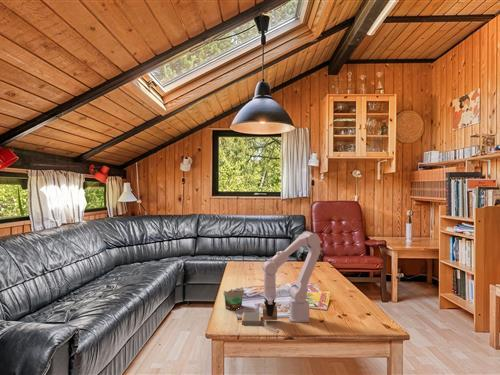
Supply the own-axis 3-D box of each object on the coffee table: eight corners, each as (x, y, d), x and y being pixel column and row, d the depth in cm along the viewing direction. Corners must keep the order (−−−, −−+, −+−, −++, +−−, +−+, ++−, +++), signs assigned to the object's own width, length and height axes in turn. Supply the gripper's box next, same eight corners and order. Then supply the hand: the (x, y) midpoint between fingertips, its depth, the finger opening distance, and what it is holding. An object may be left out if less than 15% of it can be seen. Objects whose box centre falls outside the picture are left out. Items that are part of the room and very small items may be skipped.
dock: (260, 316, 166) (260, 312, 166) (260, 325, 156) (260, 320, 156) (243, 316, 166) (243, 312, 166) (241, 324, 156) (241, 320, 156)
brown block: (276, 315, 162) (276, 305, 162) (277, 319, 157) (277, 309, 157) (262, 315, 162) (262, 305, 162) (262, 319, 158) (262, 309, 157)
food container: (229, 313, 170) (229, 294, 170) (223, 309, 175) (223, 290, 175) (248, 307, 178) (248, 289, 178) (242, 304, 183) (242, 286, 183)
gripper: (261, 281, 167) (261, 307, 167) (261, 290, 153) (261, 319, 153) (275, 281, 167) (275, 307, 167) (276, 291, 152) (276, 319, 152)
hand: (269, 313), depth 160 cm, fingers closed on brown block, 5 cm apart
